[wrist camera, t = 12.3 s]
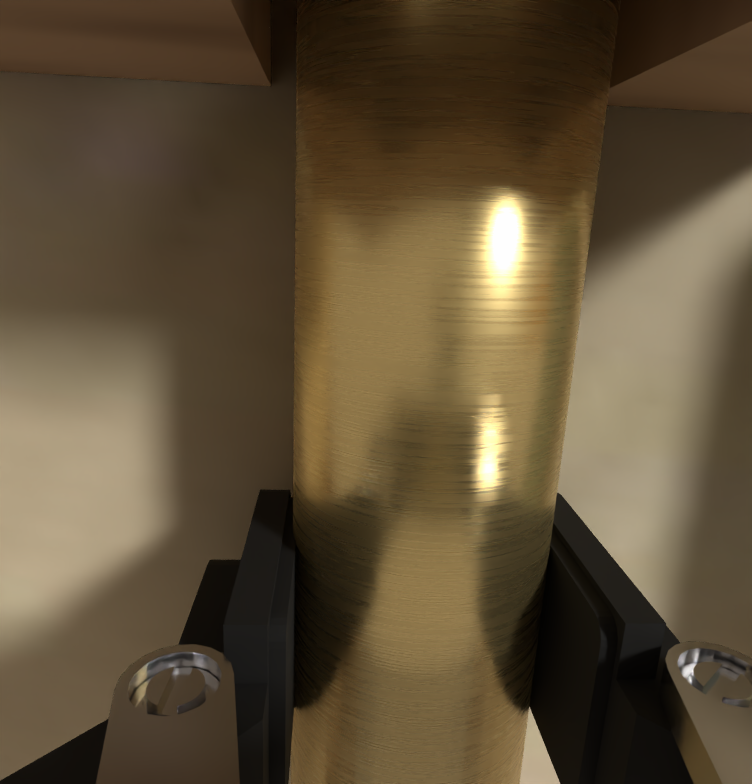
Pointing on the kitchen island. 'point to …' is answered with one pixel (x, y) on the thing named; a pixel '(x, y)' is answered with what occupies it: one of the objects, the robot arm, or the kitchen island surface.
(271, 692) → the robot arm
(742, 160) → the kitchen island surface
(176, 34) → the beam
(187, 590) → the kitchen island surface
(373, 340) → the axle
